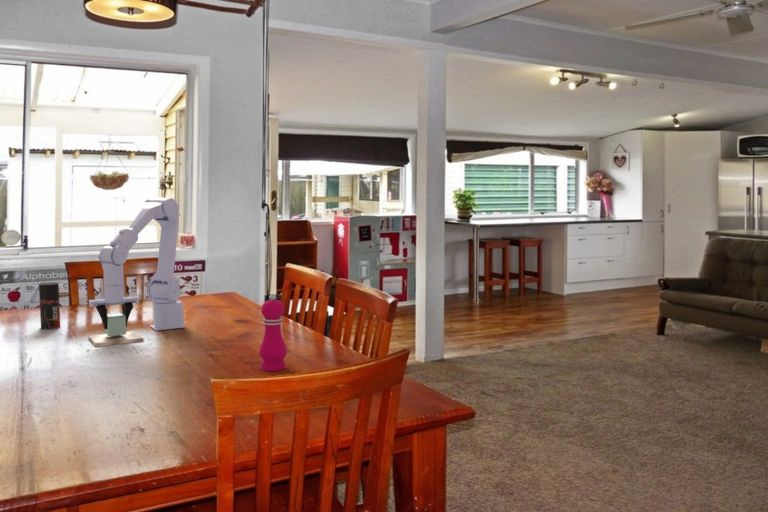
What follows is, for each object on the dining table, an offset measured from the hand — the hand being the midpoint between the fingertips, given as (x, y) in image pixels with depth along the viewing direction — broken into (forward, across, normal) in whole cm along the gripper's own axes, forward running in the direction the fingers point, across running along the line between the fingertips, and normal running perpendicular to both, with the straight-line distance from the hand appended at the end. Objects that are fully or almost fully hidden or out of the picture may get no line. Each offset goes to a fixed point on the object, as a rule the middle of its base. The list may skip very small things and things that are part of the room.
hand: (115, 327), depth 213 cm
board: (+4, 0, 0) cm, 4 cm away
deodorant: (+4, +14, -31) cm, 35 cm away
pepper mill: (+4, -28, +57) cm, 63 cm away
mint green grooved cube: (+2, 0, 0) cm, 2 cm away
